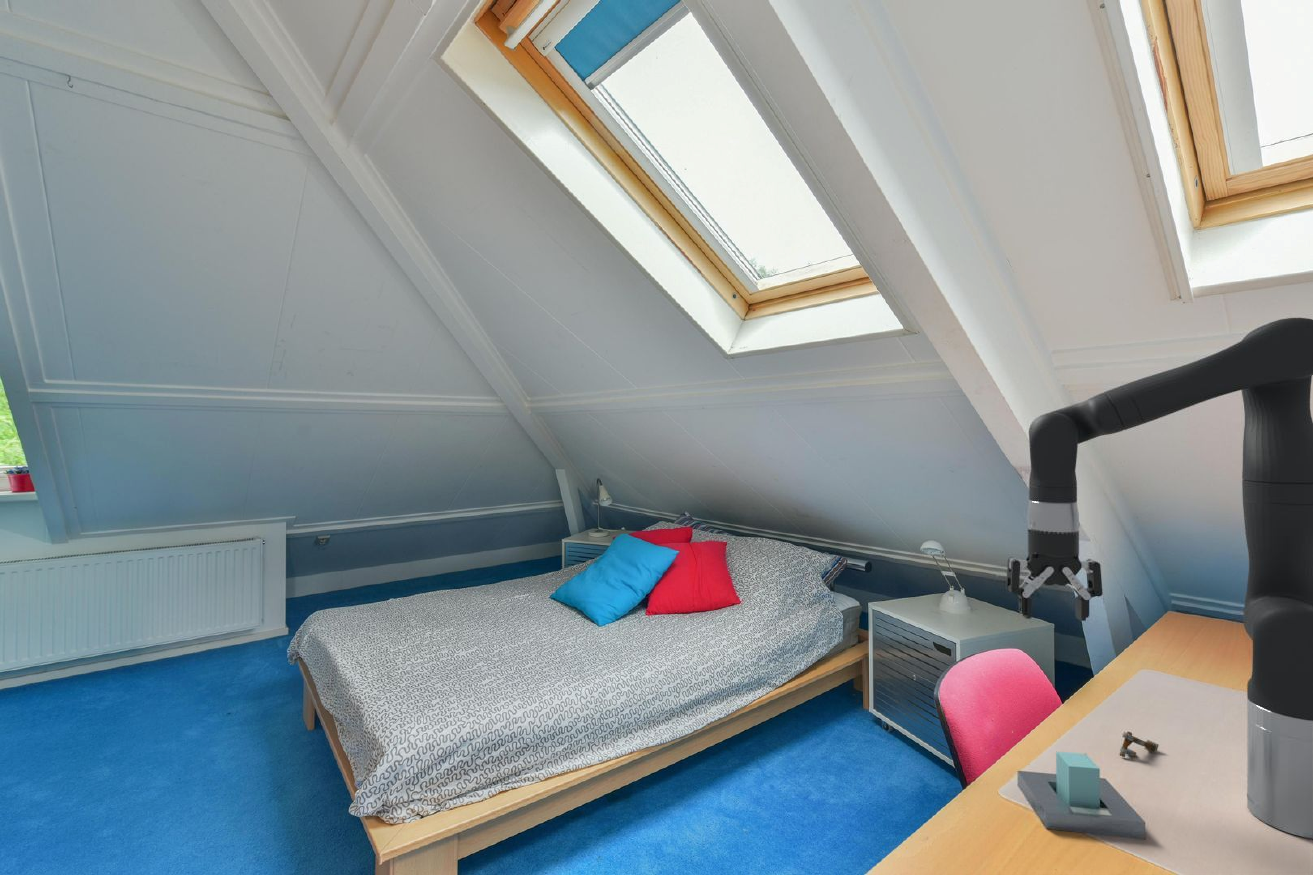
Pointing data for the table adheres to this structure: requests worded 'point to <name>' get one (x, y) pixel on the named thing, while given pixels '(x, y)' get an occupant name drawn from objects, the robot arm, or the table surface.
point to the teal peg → (1077, 779)
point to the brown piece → (1129, 739)
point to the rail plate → (1080, 808)
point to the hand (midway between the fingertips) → (1053, 618)
